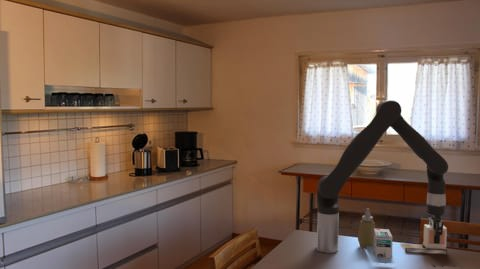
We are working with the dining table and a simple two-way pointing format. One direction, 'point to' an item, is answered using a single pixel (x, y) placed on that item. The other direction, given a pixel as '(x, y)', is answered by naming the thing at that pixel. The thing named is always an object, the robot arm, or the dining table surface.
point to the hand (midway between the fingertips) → (434, 241)
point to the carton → (429, 238)
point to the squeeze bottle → (366, 230)
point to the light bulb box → (383, 243)
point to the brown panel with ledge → (422, 249)
